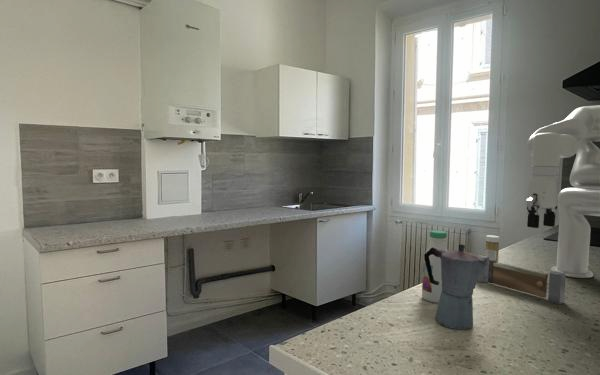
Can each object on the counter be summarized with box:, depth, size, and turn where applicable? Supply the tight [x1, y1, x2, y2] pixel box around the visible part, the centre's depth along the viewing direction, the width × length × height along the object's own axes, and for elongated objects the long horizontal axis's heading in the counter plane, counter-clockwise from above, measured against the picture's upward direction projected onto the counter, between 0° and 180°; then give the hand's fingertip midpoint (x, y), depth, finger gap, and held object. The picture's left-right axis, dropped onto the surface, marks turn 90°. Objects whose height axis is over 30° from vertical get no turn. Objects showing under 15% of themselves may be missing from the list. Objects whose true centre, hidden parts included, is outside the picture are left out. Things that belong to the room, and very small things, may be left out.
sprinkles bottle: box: [484, 234, 501, 271], centre depth 145 cm, size 5×5×13 cm
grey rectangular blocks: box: [477, 254, 567, 305], centre depth 124 cm, size 3×26×8 cm, turn 35°
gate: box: [487, 260, 549, 299], centre depth 124 cm, size 3×18×8 cm, turn 35°
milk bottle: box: [421, 229, 449, 304], centre depth 115 cm, size 8×8×20 cm
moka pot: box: [423, 244, 489, 331], centre depth 98 cm, size 10×15×20 cm, turn 58°
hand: (540, 226), depth 125 cm, fingers open, 9 cm apart
